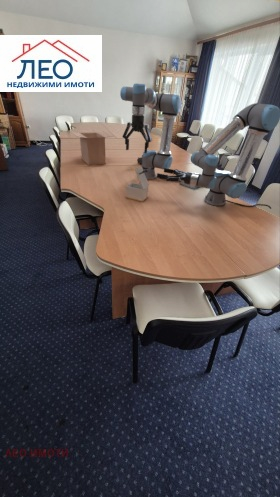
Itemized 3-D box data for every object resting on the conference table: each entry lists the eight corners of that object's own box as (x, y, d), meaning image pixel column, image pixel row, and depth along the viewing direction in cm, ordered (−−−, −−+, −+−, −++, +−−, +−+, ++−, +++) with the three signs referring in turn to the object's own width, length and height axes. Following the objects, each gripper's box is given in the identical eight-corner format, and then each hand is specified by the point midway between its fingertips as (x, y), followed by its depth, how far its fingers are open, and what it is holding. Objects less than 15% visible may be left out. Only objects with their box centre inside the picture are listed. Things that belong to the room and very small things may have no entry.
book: (194, 178, 210) (195, 173, 207) (209, 183, 201) (210, 178, 198) (179, 183, 196) (180, 178, 193) (194, 189, 188) (196, 183, 185)
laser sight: (156, 166, 234) (157, 157, 228) (136, 164, 237) (136, 154, 231) (158, 164, 241) (159, 154, 236) (138, 162, 244) (138, 152, 238)
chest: (125, 197, 166) (126, 186, 160) (131, 193, 173) (131, 182, 168) (142, 201, 162) (143, 190, 156) (147, 197, 169) (148, 186, 163)
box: (116, 165, 229) (116, 136, 213) (83, 168, 214) (80, 137, 198) (102, 154, 259) (101, 128, 243) (71, 156, 244) (68, 129, 228)
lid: (134, 170, 151) (144, 166, 146) (140, 166, 158) (150, 162, 154) (142, 189, 156) (152, 186, 152) (148, 185, 163) (157, 182, 159)
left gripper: (117, 112, 137) (117, 149, 149) (154, 117, 129) (151, 155, 142) (123, 112, 142) (122, 147, 155) (159, 116, 135) (155, 153, 147)
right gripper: (185, 190, 136) (153, 183, 142) (194, 179, 154) (166, 173, 161) (187, 178, 131) (154, 171, 138) (196, 168, 150) (167, 162, 156)
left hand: (136, 151), depth 148 cm, fingers open, 13 cm apart
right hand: (160, 172), depth 149 cm, fingers open, 13 cm apart
